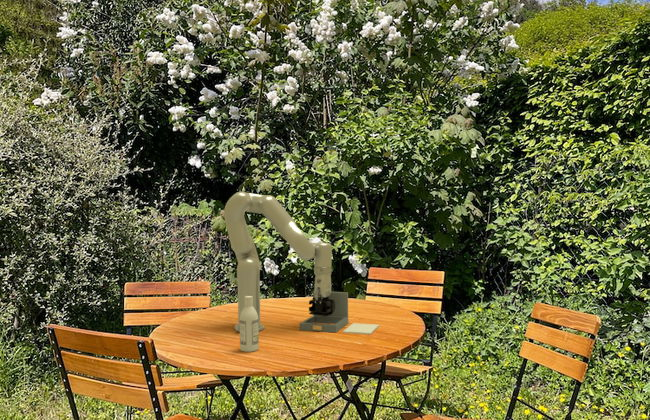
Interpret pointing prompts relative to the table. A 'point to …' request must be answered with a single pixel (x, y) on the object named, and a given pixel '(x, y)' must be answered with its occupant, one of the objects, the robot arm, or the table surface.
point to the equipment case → (336, 318)
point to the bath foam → (249, 327)
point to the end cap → (323, 307)
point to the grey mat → (361, 328)
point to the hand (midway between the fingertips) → (321, 310)
